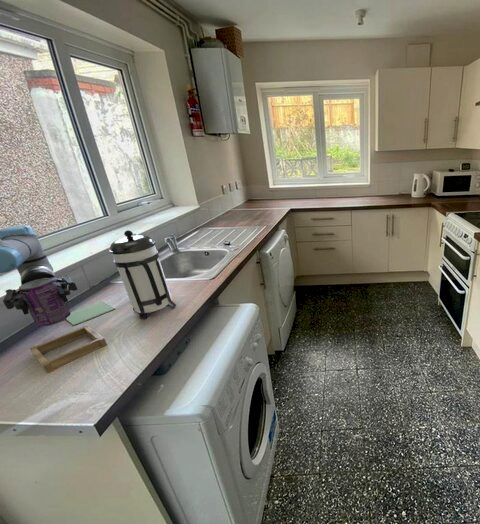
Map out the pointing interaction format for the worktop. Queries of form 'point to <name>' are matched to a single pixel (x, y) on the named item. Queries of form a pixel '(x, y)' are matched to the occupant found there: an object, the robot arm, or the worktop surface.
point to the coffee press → (141, 273)
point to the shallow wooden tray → (70, 355)
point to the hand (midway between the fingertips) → (44, 303)
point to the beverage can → (44, 302)
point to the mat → (88, 312)
